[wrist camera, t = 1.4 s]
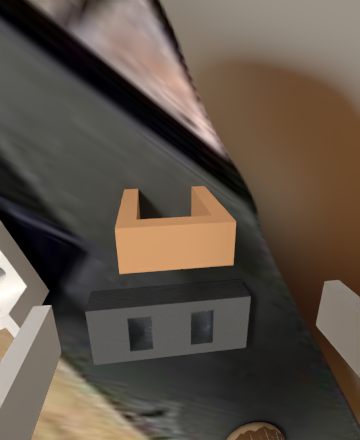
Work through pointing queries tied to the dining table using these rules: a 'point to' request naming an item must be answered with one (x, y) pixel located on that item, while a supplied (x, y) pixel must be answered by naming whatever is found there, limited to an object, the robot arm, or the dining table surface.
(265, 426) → the donut
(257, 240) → the dining table surface
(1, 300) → the bracket
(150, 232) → the clip
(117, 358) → the grey slotted block
